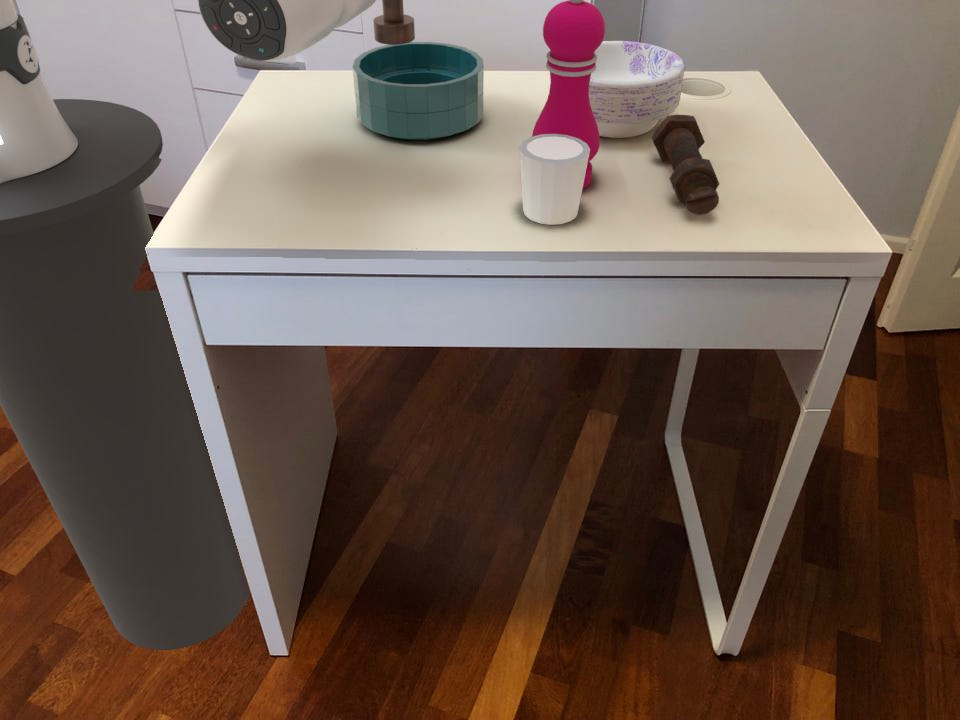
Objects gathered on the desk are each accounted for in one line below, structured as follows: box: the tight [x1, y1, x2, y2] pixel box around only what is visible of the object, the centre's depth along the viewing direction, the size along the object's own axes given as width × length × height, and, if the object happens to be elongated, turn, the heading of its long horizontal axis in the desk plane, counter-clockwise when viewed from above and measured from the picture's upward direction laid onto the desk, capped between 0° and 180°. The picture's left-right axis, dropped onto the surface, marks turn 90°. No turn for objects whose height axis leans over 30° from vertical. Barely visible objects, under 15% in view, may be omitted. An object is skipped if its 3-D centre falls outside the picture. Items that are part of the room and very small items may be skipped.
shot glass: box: [519, 134, 590, 226], centre depth 79 cm, size 7×7×7 cm
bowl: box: [352, 41, 485, 141], centre depth 98 cm, size 16×16×7 cm
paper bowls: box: [589, 40, 686, 139], centre depth 96 cm, size 15×15×8 cm
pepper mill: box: [531, 0, 606, 190], centre depth 81 cm, size 7×7×20 cm
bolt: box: [651, 114, 720, 215], centre depth 84 cm, size 6×5×15 cm
